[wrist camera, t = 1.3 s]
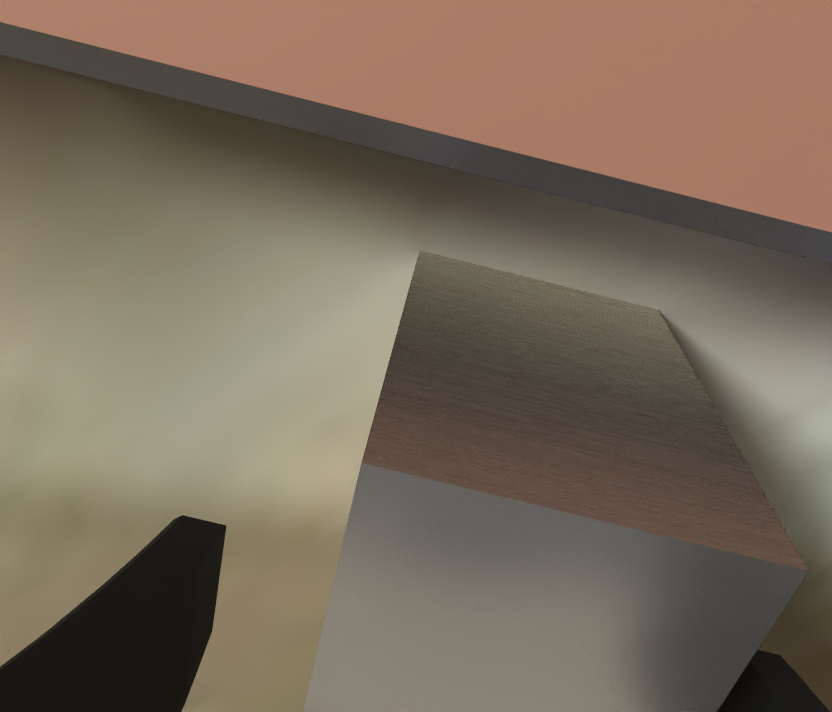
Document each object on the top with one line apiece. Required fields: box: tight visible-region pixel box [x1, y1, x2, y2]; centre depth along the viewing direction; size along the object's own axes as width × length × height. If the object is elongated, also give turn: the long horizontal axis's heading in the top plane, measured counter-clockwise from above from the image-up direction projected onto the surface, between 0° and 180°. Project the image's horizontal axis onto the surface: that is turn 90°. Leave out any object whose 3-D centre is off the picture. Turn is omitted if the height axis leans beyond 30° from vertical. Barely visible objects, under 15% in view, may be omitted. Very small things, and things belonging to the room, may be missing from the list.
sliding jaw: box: [0, 0, 832, 232], centre depth 7 cm, size 17×2×3 cm, turn 77°
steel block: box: [303, 251, 809, 712], centre depth 11 cm, size 4×8×6 cm, turn 167°
